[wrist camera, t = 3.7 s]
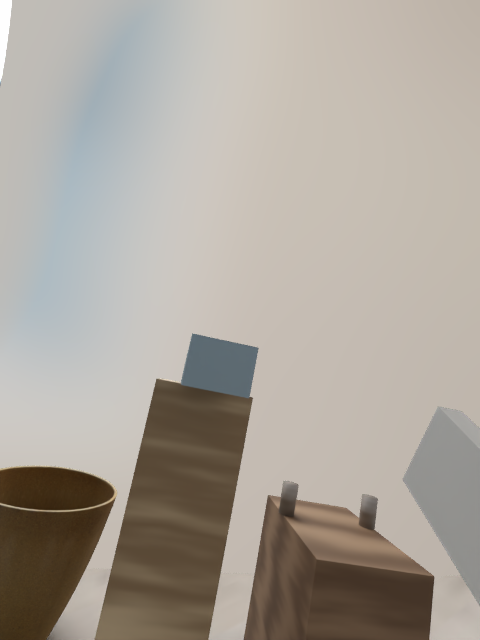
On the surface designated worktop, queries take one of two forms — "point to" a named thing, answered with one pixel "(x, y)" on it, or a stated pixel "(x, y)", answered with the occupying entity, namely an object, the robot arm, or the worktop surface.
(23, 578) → the plant pot
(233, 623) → the worktop surface
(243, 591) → the worktop surface
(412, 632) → the wooden block with pegs
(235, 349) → the blue-grey block
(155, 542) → the stand
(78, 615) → the worktop surface
